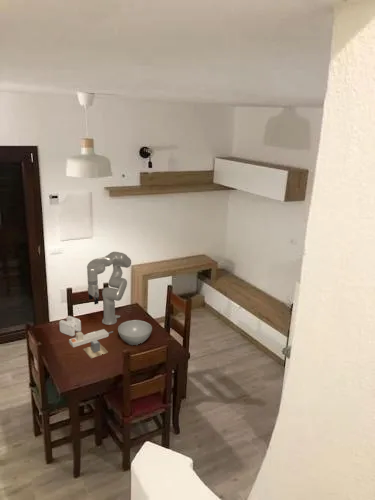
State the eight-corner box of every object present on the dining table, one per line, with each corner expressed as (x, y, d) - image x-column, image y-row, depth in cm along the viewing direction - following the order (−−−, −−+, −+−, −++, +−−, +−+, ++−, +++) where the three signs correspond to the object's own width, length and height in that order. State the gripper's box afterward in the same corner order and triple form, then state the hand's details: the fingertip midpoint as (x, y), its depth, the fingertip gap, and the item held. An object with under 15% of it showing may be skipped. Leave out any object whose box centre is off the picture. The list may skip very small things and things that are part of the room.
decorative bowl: (127, 330, 341) (127, 317, 338) (156, 336, 334) (157, 323, 330) (111, 346, 317) (111, 332, 313) (143, 353, 310) (143, 339, 306)
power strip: (110, 330, 340) (110, 321, 338) (115, 334, 334) (115, 325, 332) (69, 342, 319) (68, 333, 317) (73, 347, 313) (72, 338, 311)
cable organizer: (82, 332, 335) (81, 319, 331) (73, 338, 326) (72, 325, 322) (68, 327, 341) (67, 315, 338) (59, 332, 332) (58, 320, 329)
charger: (97, 347, 313) (96, 339, 310) (100, 350, 309) (99, 342, 307) (91, 349, 310) (90, 341, 308) (93, 352, 306) (93, 344, 304)
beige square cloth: (100, 344, 319) (100, 343, 319) (108, 352, 309) (108, 351, 308) (83, 349, 311) (83, 348, 311) (91, 358, 300) (90, 357, 300)
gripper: (102, 284, 313) (102, 304, 319) (92, 277, 326) (93, 296, 332) (93, 287, 309) (94, 307, 315) (83, 279, 322) (84, 298, 327)
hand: (93, 301), depth 323 cm, fingers open, 9 cm apart
